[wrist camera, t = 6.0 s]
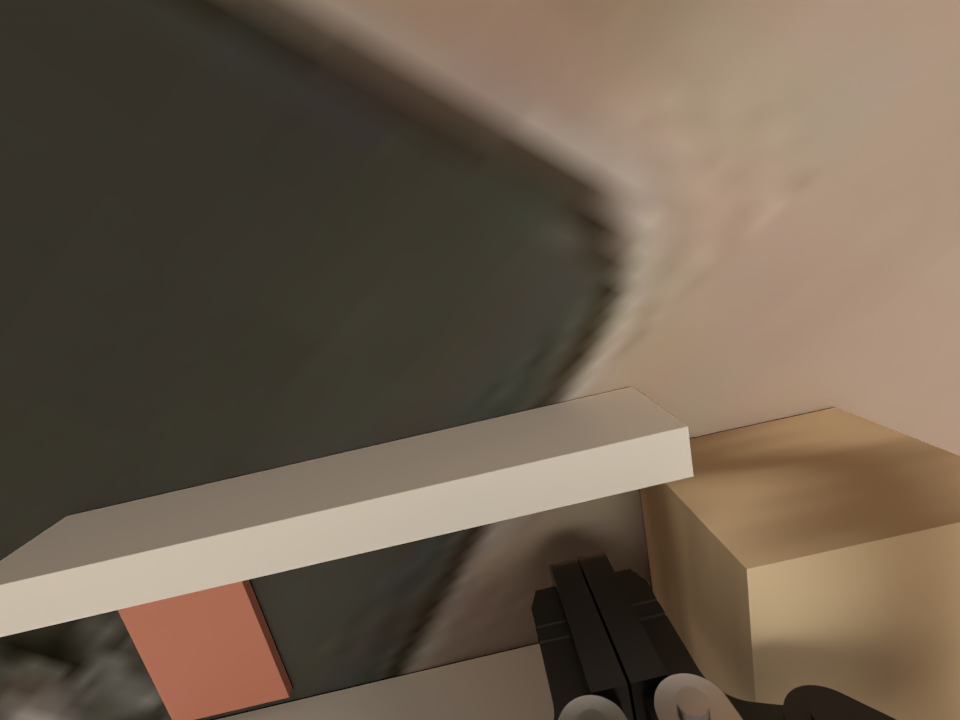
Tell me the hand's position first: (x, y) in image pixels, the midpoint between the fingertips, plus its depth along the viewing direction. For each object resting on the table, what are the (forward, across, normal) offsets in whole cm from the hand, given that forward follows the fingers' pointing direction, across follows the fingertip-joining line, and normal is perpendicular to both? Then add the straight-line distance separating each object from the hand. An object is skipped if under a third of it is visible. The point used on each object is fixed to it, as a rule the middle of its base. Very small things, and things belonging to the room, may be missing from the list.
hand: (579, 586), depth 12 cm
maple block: (+2, -6, 0) cm, 6 cm away
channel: (+2, +5, 0) cm, 6 cm away
